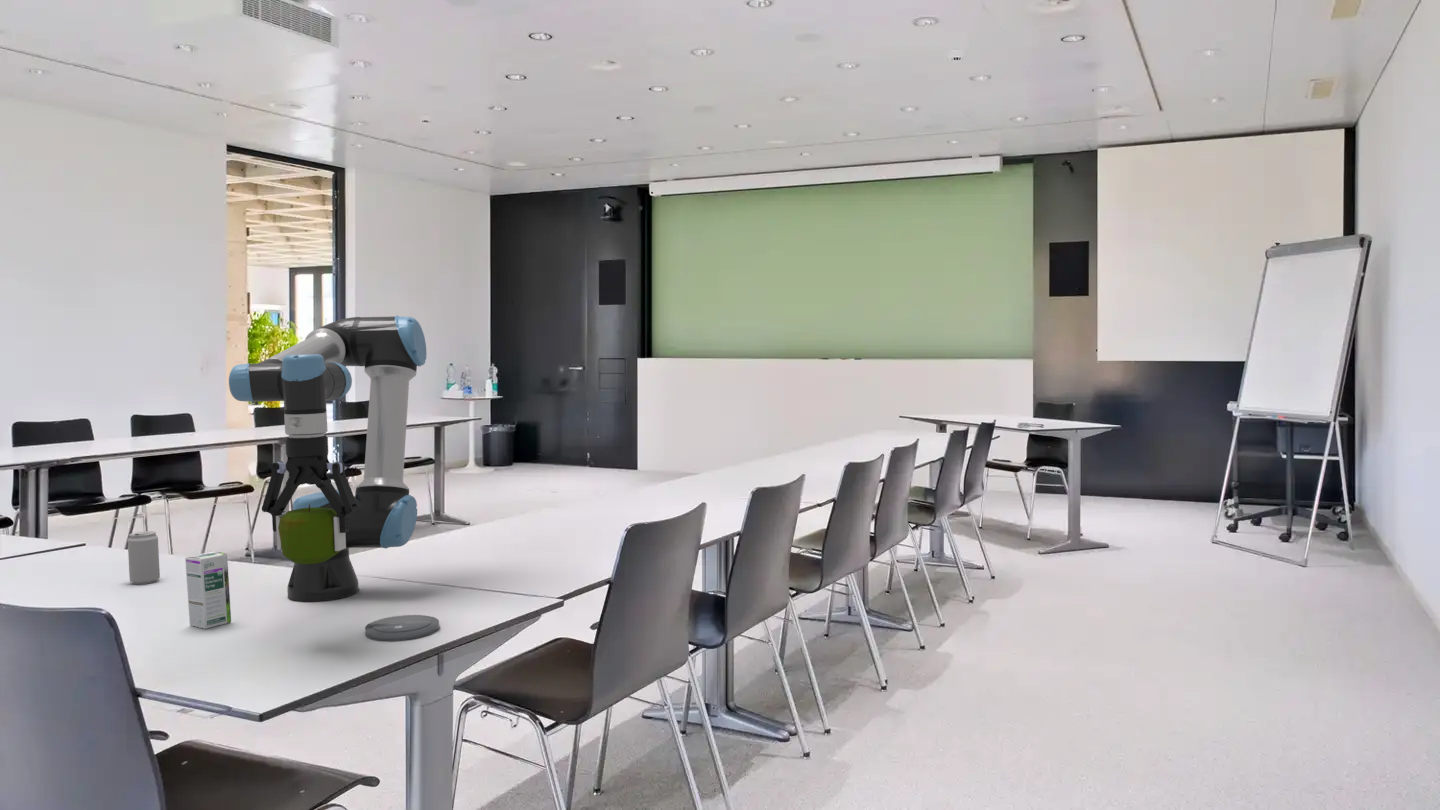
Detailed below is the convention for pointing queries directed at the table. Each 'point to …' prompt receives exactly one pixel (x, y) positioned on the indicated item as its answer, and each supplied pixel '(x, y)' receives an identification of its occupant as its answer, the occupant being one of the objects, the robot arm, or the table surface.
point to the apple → (308, 535)
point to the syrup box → (208, 589)
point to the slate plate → (402, 627)
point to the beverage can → (143, 557)
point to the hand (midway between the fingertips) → (311, 549)
